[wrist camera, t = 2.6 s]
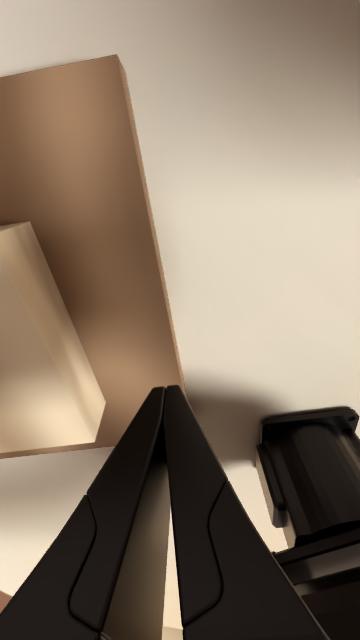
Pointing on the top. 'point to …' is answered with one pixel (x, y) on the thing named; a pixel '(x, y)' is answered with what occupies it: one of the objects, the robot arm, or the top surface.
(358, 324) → the top surface
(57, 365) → the birch plate
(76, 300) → the bench board
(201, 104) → the top surface
